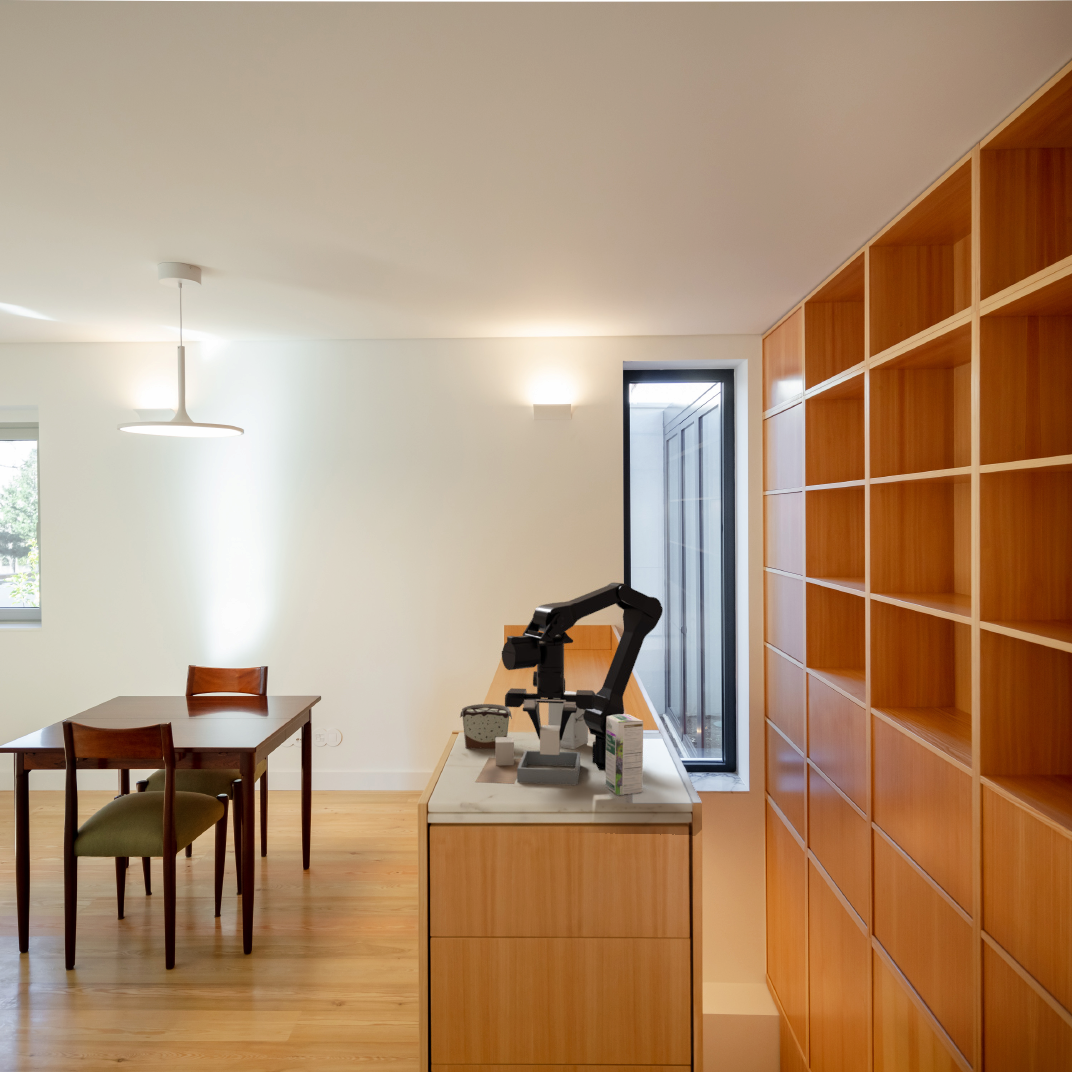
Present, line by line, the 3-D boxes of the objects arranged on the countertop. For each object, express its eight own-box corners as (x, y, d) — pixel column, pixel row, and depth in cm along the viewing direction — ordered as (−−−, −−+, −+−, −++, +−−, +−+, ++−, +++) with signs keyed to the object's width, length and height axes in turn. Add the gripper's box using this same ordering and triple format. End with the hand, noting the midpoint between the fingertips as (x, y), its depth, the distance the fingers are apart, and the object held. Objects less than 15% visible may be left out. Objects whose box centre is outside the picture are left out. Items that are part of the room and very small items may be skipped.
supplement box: (573, 752, 167) (574, 699, 167) (547, 747, 171) (547, 694, 171) (589, 745, 173) (589, 693, 173) (562, 740, 177) (563, 689, 177)
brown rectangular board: (524, 762, 160) (524, 758, 160) (514, 787, 144) (514, 783, 144) (489, 761, 161) (489, 757, 161) (475, 785, 145) (475, 781, 145)
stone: (560, 749, 152) (560, 725, 152) (559, 754, 148) (559, 730, 148) (541, 748, 152) (541, 725, 152) (539, 754, 148) (540, 730, 148)
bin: (580, 768, 155) (580, 752, 155) (577, 788, 143) (577, 770, 143) (524, 766, 157) (524, 750, 157) (517, 786, 145) (517, 768, 145)
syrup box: (604, 787, 144) (604, 715, 144) (629, 783, 147) (630, 712, 147) (617, 796, 139) (618, 722, 139) (644, 792, 141) (644, 719, 141)
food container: (515, 745, 173) (515, 704, 173) (511, 753, 167) (511, 710, 166) (464, 743, 174) (465, 702, 174) (459, 751, 168) (459, 708, 168)
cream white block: (513, 759, 159) (513, 737, 159) (513, 765, 155) (514, 742, 155) (495, 759, 159) (495, 737, 159) (495, 765, 155) (495, 742, 155)
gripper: (596, 659, 157) (595, 730, 157) (512, 657, 159) (512, 727, 159) (594, 669, 146) (594, 745, 146) (504, 667, 148) (504, 742, 148)
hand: (550, 739), depth 150 cm, fingers closed on stone, 4 cm apart
